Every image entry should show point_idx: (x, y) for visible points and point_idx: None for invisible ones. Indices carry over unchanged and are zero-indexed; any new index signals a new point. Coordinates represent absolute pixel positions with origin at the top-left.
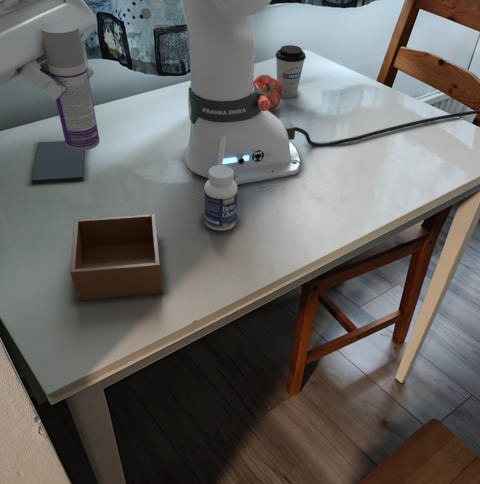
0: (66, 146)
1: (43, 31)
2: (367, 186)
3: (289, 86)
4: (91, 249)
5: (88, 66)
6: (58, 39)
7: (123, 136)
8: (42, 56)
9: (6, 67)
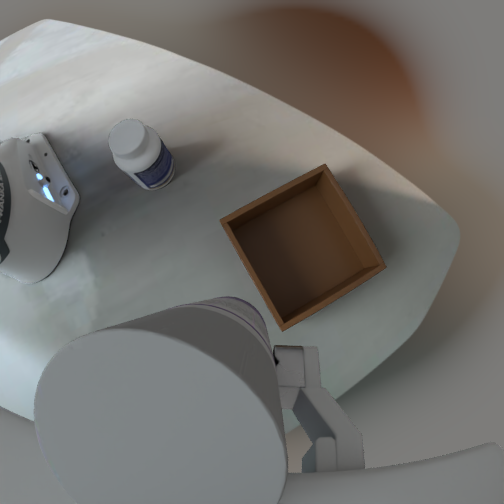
0: None
1: None
2: (59, 68)
3: None
4: (280, 306)
5: None
6: (272, 402)
7: (29, 387)
8: None
9: (484, 452)
